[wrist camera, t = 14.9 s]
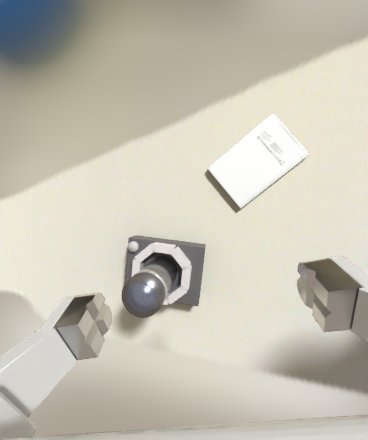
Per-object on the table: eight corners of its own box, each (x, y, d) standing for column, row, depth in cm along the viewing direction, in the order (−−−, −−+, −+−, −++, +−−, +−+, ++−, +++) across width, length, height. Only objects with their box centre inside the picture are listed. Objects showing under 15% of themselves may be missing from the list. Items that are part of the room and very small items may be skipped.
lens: (179, 258, 30) (164, 279, 21) (176, 289, 30) (160, 322, 21) (149, 254, 31) (122, 272, 21) (146, 283, 31) (118, 314, 22)
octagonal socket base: (205, 244, 32) (204, 249, 28) (199, 297, 33) (197, 311, 28) (136, 235, 34) (124, 239, 29) (131, 285, 34) (119, 297, 30)
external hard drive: (207, 170, 32) (270, 116, 30) (239, 209, 32) (305, 157, 30) (207, 168, 31) (273, 111, 29) (240, 208, 30) (310, 154, 28)
